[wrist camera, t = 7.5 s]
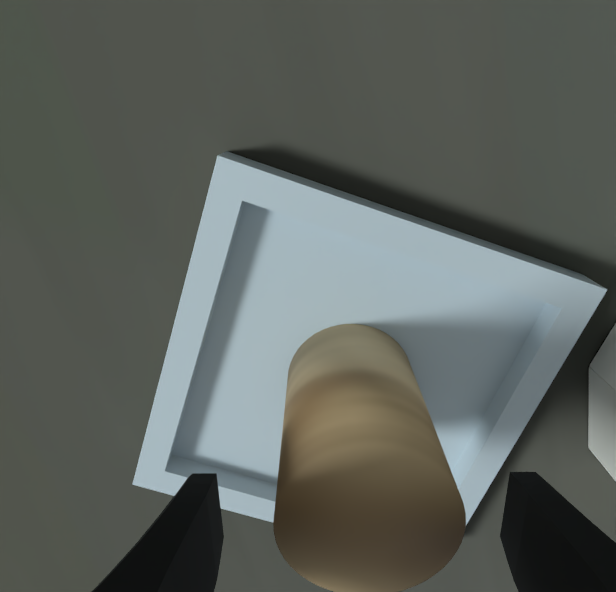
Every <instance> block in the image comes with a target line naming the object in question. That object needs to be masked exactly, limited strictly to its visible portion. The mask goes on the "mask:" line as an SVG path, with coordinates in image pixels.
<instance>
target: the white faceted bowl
mask: <svg viewBox="0 0 616 592" xmlns="http://www.w3.org/2000/svg"><path fill="white" fill-rule="evenodd" d="M589 366H590V367H589V419H588V447H589V449H590V450H591V452H592V453H593V454H594V455H595V457H596V458H597V459H598V460H599V461H600V463H601V464H602V465H603V466H604V468H605V469H606V470H607V471H608V473H609V474H610V475H611V476H612V478H613V479H614V480H615V481H616V323H615V325H614V327H613V328H612V330H611V331H610V333H609V335H608V336H607V338H606V339H605V341H604V343H603V344H602V346H601V348H600V349H599V351H598V352H597V354H596V356H595V357H594V359H593V360H592V362H591V364H590V365H589Z"/></svg>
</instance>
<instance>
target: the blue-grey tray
mask: <svg viewBox="0 0 616 592" xmlns="http://www.w3.org/2000/svg"><path fill="white" fill-rule="evenodd" d="M606 291H607V289H606V288H604V287H602V286H601V285H599V284H598V283H596V282H594V281H593V280H591V279H589V278H588V277H586V276H585V275H583V274H580V273H578V272H575V271H572V270H569V269H566V268H563V267H560V266H557V265H554V264H551V263H549V262H546V261H543V260H540V259H537V258H534V257H531V256H528V255H525V254H523V253H520V252H517V251H514V250H511V249H508V248H505V247H502V246H499V245H497V244H494V243H491V242H488V241H485V240H482V239H479V238H476V237H473V236H471V235H468V234H465V233H462V232H459V231H456V230H453V229H450V228H447V227H444V226H442V225H439V224H436V223H433V222H430V221H427V220H424V219H421V218H418V217H416V216H413V215H410V214H407V213H404V212H401V211H398V210H395V209H392V208H390V207H387V206H384V205H381V204H378V203H375V202H372V201H369V200H366V199H364V198H361V197H358V196H355V195H352V194H349V193H346V192H343V191H340V190H338V189H335V188H332V187H329V186H326V185H323V184H320V183H317V182H314V181H311V180H309V179H306V178H303V177H300V176H297V175H294V174H291V173H288V172H285V171H283V170H280V169H277V168H274V167H271V166H268V165H265V164H262V163H259V162H257V161H254V160H251V159H248V158H245V157H242V156H239V155H236V154H233V153H231V152H228V151H226V152H224V153H222V154H220V155H218V156H217V160H216V164H215V167H214V171H213V175H212V179H211V183H210V187H209V191H208V195H207V198H206V202H205V206H204V210H203V214H202V218H201V222H200V225H199V229H198V233H197V237H196V241H195V245H194V249H193V252H192V256H191V260H190V264H189V268H188V272H187V276H186V280H185V283H184V287H183V291H182V295H181V299H180V303H179V307H178V310H177V314H176V318H175V322H174V326H173V330H172V334H171V338H170V341H169V345H168V349H167V353H166V357H165V361H164V365H163V368H162V372H161V376H160V380H159V384H158V388H157V392H156V395H155V399H154V403H153V407H152V411H151V415H150V419H149V423H148V426H147V430H146V434H145V438H144V442H143V446H142V450H141V453H140V457H139V461H138V465H137V469H136V473H135V477H134V481H133V485H136V486H140V487H144V488H147V489H151V490H155V491H158V492H162V493H166V494H170V495H173V496H175V495H176V493H177V492H178V490H179V489H180V488H181V486H182V485H183V484H184V482H185V481H186V480H187V478H188V477H189V476H190V475H191V474H192V473H217V482H218V490H219V499H220V508H221V509H225V510H229V511H232V512H236V513H240V514H244V515H247V516H251V517H255V518H258V519H262V520H266V521H269V522H273V521H274V511H275V501H276V491H277V481H278V471H279V460H280V450H281V440H282V430H283V420H284V410H285V399H286V389H287V379H288V371H289V367H290V363H291V361H292V358H293V356H294V355H295V353H296V351H297V350H298V349H299V347H300V346H301V345H302V344H303V343H304V342H305V341H306V340H307V339H308V338H310V337H311V336H313V335H314V334H315V333H317V332H319V331H321V330H323V329H326V328H329V327H332V326H336V325H342V324H361V325H366V326H370V327H374V328H376V329H379V330H381V331H383V332H385V333H386V334H388V335H389V336H391V337H392V338H393V339H394V340H395V341H396V342H398V343H399V345H400V346H401V347H402V348H403V350H404V352H405V353H406V355H407V357H408V360H409V362H410V365H411V367H412V370H413V373H414V375H415V378H416V380H417V383H418V386H419V388H420V391H421V394H422V396H423V399H424V401H425V404H426V407H427V409H428V412H429V414H430V417H431V420H432V422H433V425H434V428H435V430H436V433H437V435H438V438H439V441H440V443H441V446H442V448H443V451H444V454H445V456H446V459H447V461H448V464H449V467H450V469H451V472H452V475H453V477H454V480H455V482H456V485H457V488H458V490H459V493H460V495H461V498H462V501H463V503H464V508H465V513H466V525H467V523H468V521H469V520H470V518H471V516H472V515H473V513H474V511H475V510H476V508H477V506H478V505H479V503H480V501H481V500H482V498H483V496H484V495H485V493H486V491H487V490H488V488H489V486H490V485H491V483H492V481H493V480H494V478H495V476H496V475H497V473H498V471H499V470H500V468H501V466H502V465H503V463H504V461H505V460H506V458H507V456H508V455H509V453H510V451H511V450H512V448H513V446H514V445H515V443H516V441H517V440H518V438H519V436H520V435H521V433H522V431H523V430H524V428H525V426H526V425H527V423H528V421H529V420H530V418H531V416H532V415H533V413H534V411H535V410H536V408H537V406H538V405H539V403H540V401H541V400H542V398H543V396H544V395H545V393H546V391H547V390H548V388H549V386H550V385H551V383H552V381H553V380H554V378H555V376H556V375H557V373H558V371H559V370H560V368H561V366H562V365H563V363H564V361H565V360H566V358H567V356H568V355H569V353H570V351H571V350H572V348H573V346H574V345H575V343H576V341H577V340H578V338H579V336H580V335H581V333H582V331H583V330H584V328H585V326H586V325H587V323H588V321H589V320H590V318H591V316H592V315H593V313H594V311H595V310H596V308H597V306H598V305H599V303H600V301H601V300H602V298H603V296H604V295H605V293H606Z"/></svg>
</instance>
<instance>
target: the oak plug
mask: <svg viewBox="0 0 616 592" xmlns="http://www.w3.org/2000/svg"><path fill="white" fill-rule="evenodd" d="M273 525H274V535H275V540H276V543H277V545H278V548H279V550H280V552H281V554H282V555H283V557H284V559H285V560H286V561H287V562H288V564H289V565H290V566H291V567H292V568H293V569H294V570H295V571H296V572H297V573H298V574H300V575H301V576H303V577H304V578H305V579H307V580H309V581H310V582H312V583H314V584H316V585H318V586H320V587H323V588H325V589H328V590H331V591H335V592H399V591H402V590H406V589H408V588H411V587H413V586H416V585H418V584H420V583H422V582H424V581H426V580H428V579H429V578H431V577H432V576H434V575H435V574H436V573H438V572H439V571H440V570H441V569H442V568H444V567H445V565H446V564H447V563H448V562H449V561H450V560H451V559H452V557H453V556H454V555H455V553H456V552H457V550H458V548H459V546H460V544H461V542H462V539H463V536H464V533H465V526H466V513H465V508H464V503H463V501H462V498H461V495H460V493H459V490H458V488H457V485H456V482H455V480H454V477H453V475H452V472H451V469H450V467H449V464H448V461H447V459H446V456H445V454H444V451H443V448H442V446H441V443H440V441H439V438H438V435H437V433H436V430H435V428H434V425H433V422H432V420H431V417H430V414H429V412H428V409H427V407H426V404H425V401H424V399H423V396H422V394H421V391H420V388H419V386H418V383H417V380H416V378H415V375H414V373H413V370H412V367H411V365H410V362H409V360H408V357H407V355H406V353H405V352H404V350H403V348H402V347H401V346H400V345H399V343H398V342H396V341H395V340H394V339H393V338H392V337H391V336H389V335H388V334H386V333H385V332H383V331H381V330H379V329H376V328H374V327H370V326H366V325H361V324H342V325H336V326H332V327H329V328H326V329H323V330H321V331H319V332H317V333H315V334H314V335H313V336H311V337H310V338H308V339H307V340H306V341H305V342H304V343H303V344H302V345H301V346H300V347H299V349H298V350H297V351H296V353H295V355H294V356H293V358H292V361H291V363H290V367H289V371H288V379H287V389H286V399H285V410H284V420H283V430H282V440H281V450H280V460H279V471H278V481H277V491H276V501H275V511H274V521H273Z"/></svg>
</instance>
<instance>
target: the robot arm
mask: <svg viewBox="0 0 616 592" xmlns="http://www.w3.org/2000/svg"><path fill="white" fill-rule="evenodd" d="M500 537H501V541H502V544H503V547H504V551H505V554H506V557H507V561H508V564H509V567H510V570H511V573H512V576H513V579H514V582H515V584H516V586H517V589H518V591H519V592H616V543H615V542H614V541H613V540H612V539H610V538H609V537H608V536H607V535H606V534H605V533H603V532H602V531H601V530H600V529H599V528H598V527H596V526H595V525H594V524H593V523H592V522H591V521H590V520H588V519H587V518H586V517H585V516H584V515H583V514H582V513H581V512H579V511H578V510H577V509H576V508H575V507H574V506H573V505H572V504H571V503H569V502H568V501H567V500H566V499H565V498H564V497H563V496H562V495H561V494H559V493H558V492H557V491H556V490H555V489H554V488H553V487H552V486H551V485H550V484H548V483H547V482H546V481H545V480H544V479H543V478H542V477H541V476H539V475H538V474H537V473H536V472H510V475H509V482H508V488H507V495H506V501H505V508H504V514H503V521H502V528H501V534H500ZM223 538H224V535H223V526H222V517H221V508H220V499H219V490H218V482H217V473H192V474H191V475H190V476H189V477H188V478H187V480H186V481H185V482H184V484H183V485H182V486H181V488H180V489H179V490H178V492H177V493H176V495H175V496H174V497H173V498H172V500H171V501H170V502H169V504H168V505H167V506H166V508H165V509H164V510H163V511H162V513H161V514H160V515H159V517H158V518H157V519H156V520H155V521H154V523H153V524H152V525H151V526H150V528H149V529H148V530H147V531H146V532H145V534H144V535H143V536H142V537H141V538H140V540H139V541H138V542H137V543H136V544H135V546H134V547H133V548H132V549H131V550H130V551H129V552H128V553H127V554H126V556H125V557H124V558H123V559H122V560H121V561H120V562H119V563H118V564H117V566H116V567H115V568H114V569H113V570H112V571H111V572H110V573H109V574H108V575H107V576H106V577H105V578H104V580H103V581H102V582H101V583H100V584H99V585H98V586H97V587H96V588H95V589H94V590H93V591H92V592H214V589H215V585H216V581H217V576H218V570H219V564H220V557H221V551H222V544H223Z"/></svg>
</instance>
